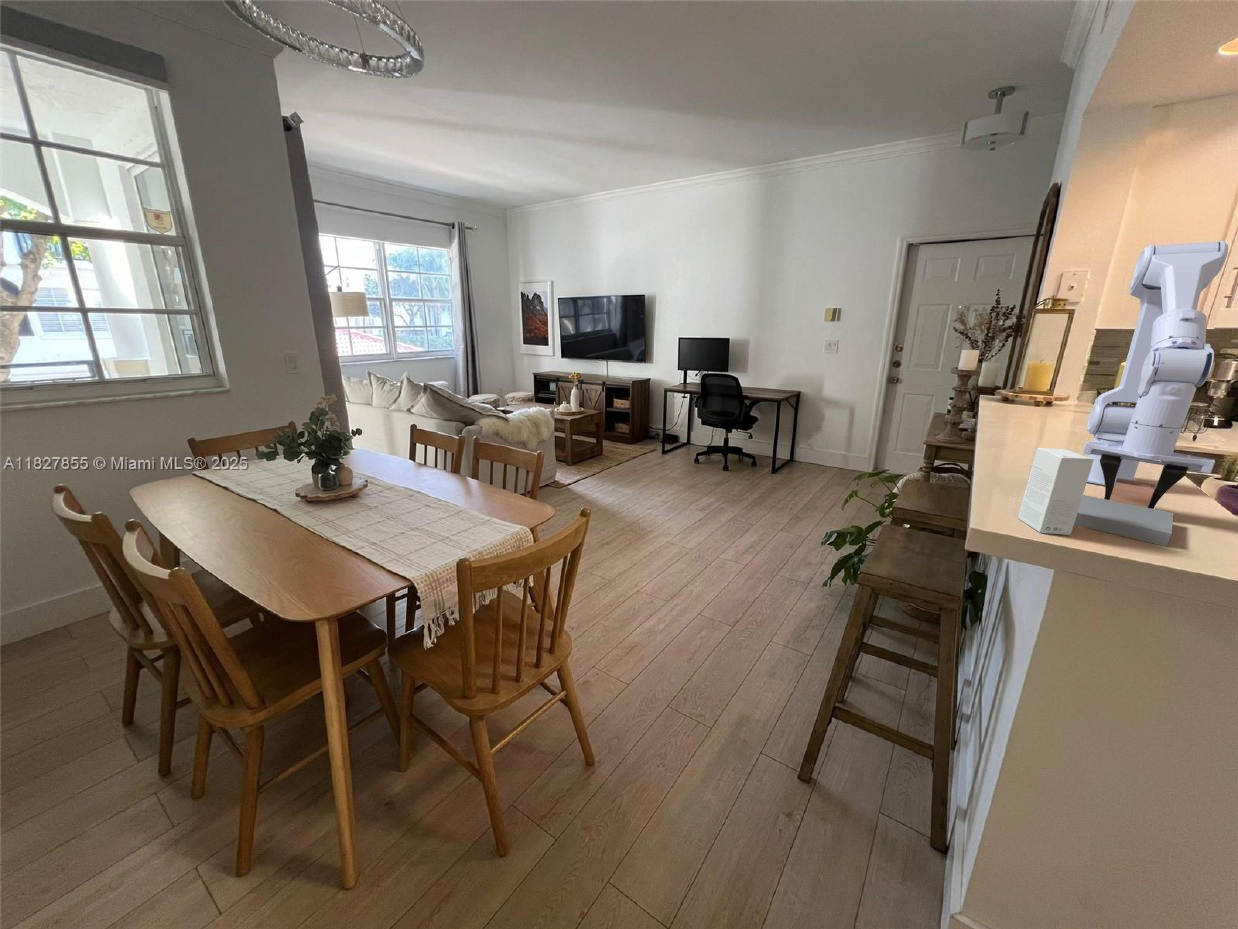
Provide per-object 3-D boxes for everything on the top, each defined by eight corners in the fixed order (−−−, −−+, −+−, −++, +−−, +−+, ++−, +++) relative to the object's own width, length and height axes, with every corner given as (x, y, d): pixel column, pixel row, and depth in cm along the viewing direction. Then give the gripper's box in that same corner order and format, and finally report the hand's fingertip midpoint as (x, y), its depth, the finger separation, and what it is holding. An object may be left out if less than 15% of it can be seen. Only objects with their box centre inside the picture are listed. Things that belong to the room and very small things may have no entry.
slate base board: (1068, 503, 85) (1071, 492, 84) (1168, 524, 76) (1173, 512, 76) (1056, 520, 77) (1060, 508, 77) (1166, 546, 69) (1171, 533, 68)
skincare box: (1071, 536, 72) (1096, 459, 68) (1039, 533, 72) (1061, 457, 69) (1046, 520, 77) (1067, 448, 74) (1016, 518, 78) (1035, 446, 75)
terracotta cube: (1108, 504, 85) (1117, 477, 83) (1145, 511, 82) (1155, 484, 80) (1105, 510, 82) (1115, 482, 80) (1143, 518, 79) (1154, 490, 77)
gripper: (1091, 420, 80) (1067, 496, 84) (1227, 436, 70) (1193, 522, 74) (1096, 415, 84) (1073, 487, 88) (1225, 429, 74) (1193, 511, 78)
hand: (1128, 503), depth 81 cm, fingers closed on terracotta cube, 4 cm apart
